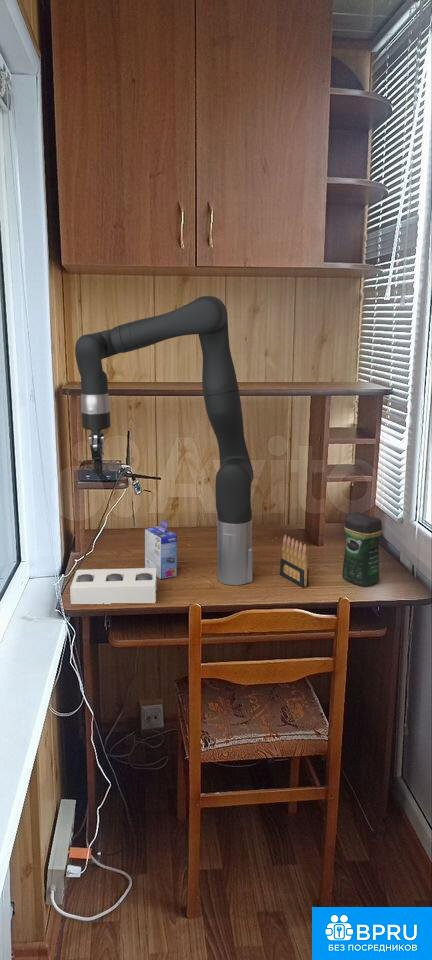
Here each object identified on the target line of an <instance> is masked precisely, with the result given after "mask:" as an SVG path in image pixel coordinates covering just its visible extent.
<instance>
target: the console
mask: <svg viewBox="0 0 432 960" xmlns="http://www.w3.org/2000/svg"><path fill="white" fill-rule="evenodd" d="M141 573H149V574H151V580H137V575H138V574H141ZM83 574H90V575H92V578H93V582H78V577H79V576H80V575H83ZM110 574H121V575H122V581H108V575H110ZM73 576H74V577H73V579H72V582H71V583H70V587H69V590H70V591H69V592H70V593H69V594H70V605H71V604H103V603H104V604H111V603H155V602H156V603H157V593H156V591H157V589H158V577H157V568H145V567H139V568H138V567H137V568H133V567H132V568H102V569H101V568H98V569H96V568H95V569H92V568H91V569H76V570H75V574H74V575H73Z"/></svg>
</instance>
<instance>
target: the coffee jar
mask: <svg viewBox="0 0 432 960" xmlns="http://www.w3.org/2000/svg"><path fill="white" fill-rule="evenodd" d="M346 515H347V516H346V517H345V522H344V525H343V527H344V528H343V530H344V534H345V547H344V548H345V549H344V557H343V563H342V564H343V565H342V579H344V580H345V581H347V582H349V583H352V584H354V585H356V586H361V587H365V586H370V587H371V586H374V585H375V584H377V583H378V582H379V581H380V555H379V554H380V549H379V548H380V545H379V544H380V538H381V536H382V535H381V534H382V533H383V529H382V528H383V527H382V526H383V525H382V519H380V518H379V517H375V516H374V517H373V516H370V515H367V514H364V513H361V512H357V511H356V512H352V513H349V514H346Z"/></svg>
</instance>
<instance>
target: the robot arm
mask: <svg viewBox="0 0 432 960" xmlns="http://www.w3.org/2000/svg"><path fill="white" fill-rule="evenodd" d="M228 319H229V318H228V311H227V308H226V306H225V304H224V302H223V301H222V300H221V299H220V298H218V297H216V296H213V295H205V296H204V295H203V296H199V297H196V299H194V300H193V301H191V302H188V303H187V304H185V305H182V306H180V307H179V308H176V309H174V310H171V311H168V312H166V313H162V314H159V315H154V316H151V317H146V318H141V319H137V320H133V321H130V322H126V323H124V324H123V323H122V324H119V325H116V326H115V327H113V328H111V329H110V328H109V329H106V330H102V331H97V332H93V333H88V334H87V333H86V334H84V335H81V336H80V337H78V339H77V341H76V342H75V348H74V354H75V361H76V364H77V365H76V366H77V369H78V373H79V376H80V391H81V393H80V395H81V396H80V397H81V399H80V409H81V427H82V429H83V430H86V431H88V430H90V434H89V436H88V442H89V448H90V449H89V450H90V454H91V460H92V461H93V470H94V471H93V472H94V475H103V472H104V463H103V460H104V452H105V440H106V434H105V433H103V430H106V429H109V428H111V425H112V423H111V406H110V405H111V403H110V397H109V382H108V376H107V373H106V372H105V371H104V369H103V362H102V360H103V359H107V358H110V357H113V356H115V355H120V354H125V353H129V352H133V351H136V350H139V349H143V348H147V347H149V346H152V345H155V344H159V343H161V342H162V341H164V342H165V341H166V340H171V339H174V338H177V337H183V336H189V335H190V336H191V335H197V336H198V339H199V343H200V347H201V355H202V368H201V369H202V370H201V372H202V374H201V375H202V377H201V380H202V381H201V383H202V384H201V385H202V394H203V400H204V406H205V411H206V414H207V418H208V421H209V423H210V426H211V428H212V430H213V432H214V436H215V438H216V441H217V446H218V454H219V468H218V470H217V472H216V476H215V488H214V489H215V508H216V509H215V510H216V514H217V516H216V517H217V522H216V525H217V535H216V537H217V539H216V540H217V580H218V582H220V583H221V584H224V585H229V586H242V585H245V584H249V583H253V570H254V569H253V568H254V567H253V560H254V559H253V557H254V556H253V555H254V552H253V551H254V550H253V539H252V538H253V536H252V534H253V533H252V532H253V530H252V529H253V510H252V504H251V503H252V502H251V501H252V495H251V494H252V483H253V480H254V469H253V465H252V462H251V458H250V455H249V451H248V447H247V444H246V439H245V433H244V432H245V429H244V417H243V409H242V408H243V407H242V401H241V395H240V389H239V384H238V383H239V382H238V378H237V375H236V370H235V365H234V361H233V357H232V353H231V347H230V337H229V323H228V321H229V320H228Z"/></svg>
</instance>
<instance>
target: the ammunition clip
mask: <svg viewBox="0 0 432 960" xmlns="http://www.w3.org/2000/svg"><path fill="white" fill-rule="evenodd" d="M279 561H280V564H279V566H280V567H279V576H281V577H282V578H284V579H287V580H288V581H289V582H291V583H293V584H295V585H297V586H298V587H301V589H304V588H308V587H309V580H310V579H309V578H310V577H309V575H310V573H309V570H310V569H309V567H308V548H307V545H306V543H304V544H303V542H302V541H300V542H299V540H298V539H296V540H295V538H294V537H292V538H291V536H290V535H288V537H287V535H286V533H285V534H284V535H283V540H282V548H281V557H280V560H279Z"/></svg>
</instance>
